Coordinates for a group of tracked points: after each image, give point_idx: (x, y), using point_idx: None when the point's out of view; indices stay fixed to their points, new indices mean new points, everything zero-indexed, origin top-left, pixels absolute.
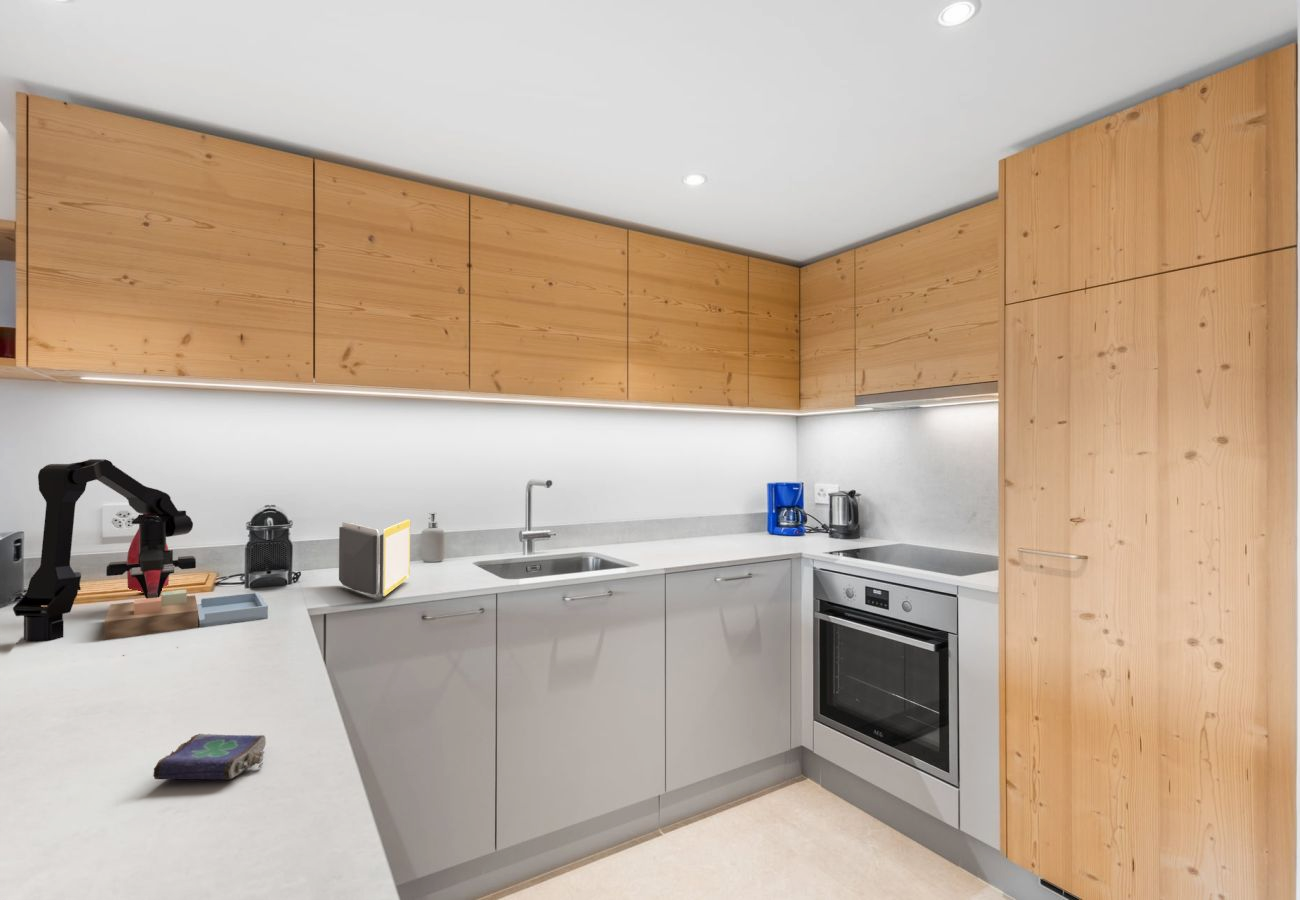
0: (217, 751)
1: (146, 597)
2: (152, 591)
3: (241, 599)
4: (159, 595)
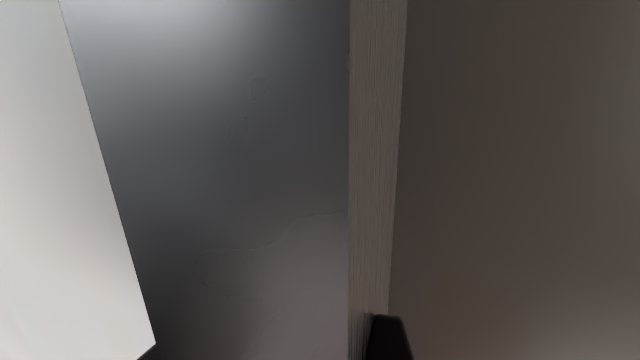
0: None
1: (394, 324)
2: (226, 206)
3: None
4: None
